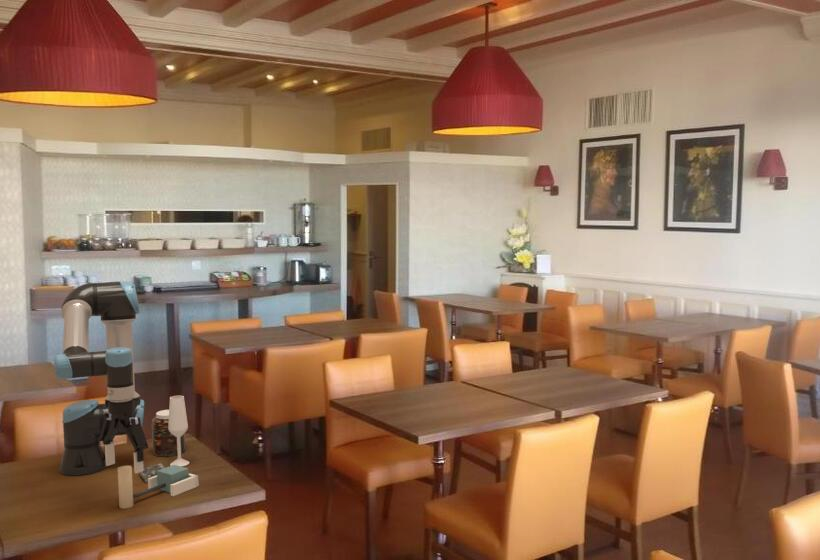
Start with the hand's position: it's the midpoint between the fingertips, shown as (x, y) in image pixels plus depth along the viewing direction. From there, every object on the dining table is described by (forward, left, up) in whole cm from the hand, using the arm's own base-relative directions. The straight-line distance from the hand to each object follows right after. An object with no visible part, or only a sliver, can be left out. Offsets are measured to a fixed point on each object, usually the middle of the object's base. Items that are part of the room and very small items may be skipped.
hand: (124, 468), depth 236 cm
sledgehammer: (0, +10, -12) cm, 16 cm away
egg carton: (-14, +21, -12) cm, 29 cm away
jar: (-31, +42, -12) cm, 54 cm away
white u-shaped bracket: (0, +18, -12) cm, 22 cm away
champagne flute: (-17, +35, -12) cm, 41 cm away
